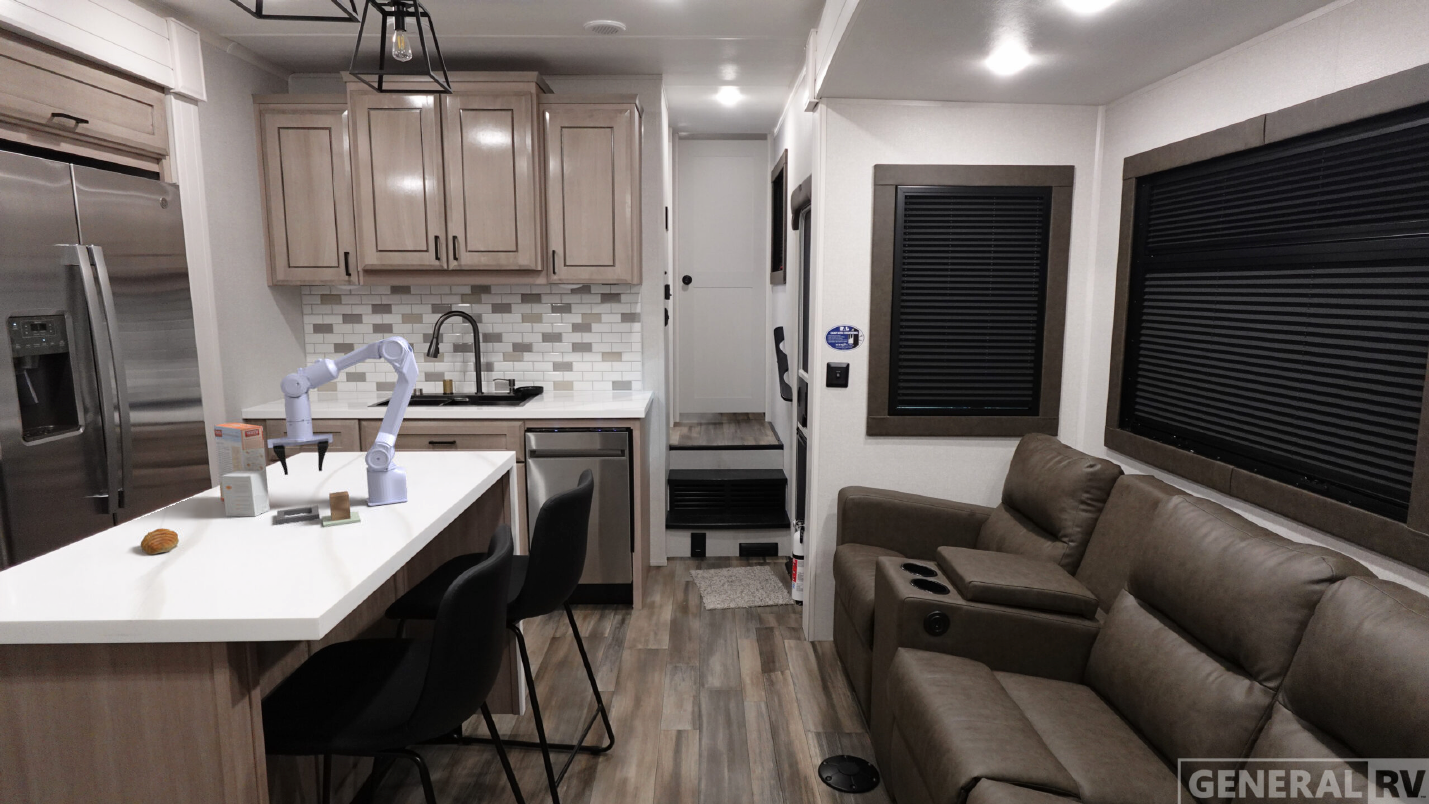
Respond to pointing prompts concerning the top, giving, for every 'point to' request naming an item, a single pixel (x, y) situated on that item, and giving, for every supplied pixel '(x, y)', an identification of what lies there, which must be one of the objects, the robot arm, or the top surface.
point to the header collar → (282, 519)
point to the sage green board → (328, 521)
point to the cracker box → (239, 449)
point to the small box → (245, 493)
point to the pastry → (159, 541)
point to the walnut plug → (339, 506)
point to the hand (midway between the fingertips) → (303, 472)
